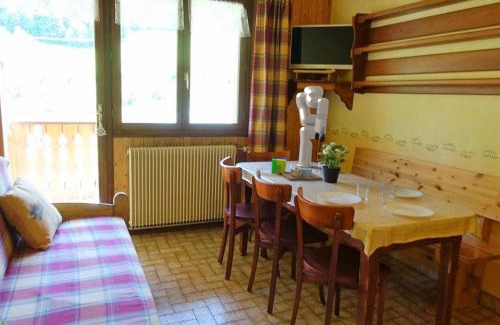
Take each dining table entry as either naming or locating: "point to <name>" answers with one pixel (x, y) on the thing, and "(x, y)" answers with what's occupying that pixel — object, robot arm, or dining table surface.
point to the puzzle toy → (278, 165)
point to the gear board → (297, 176)
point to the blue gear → (306, 172)
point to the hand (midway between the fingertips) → (319, 140)
